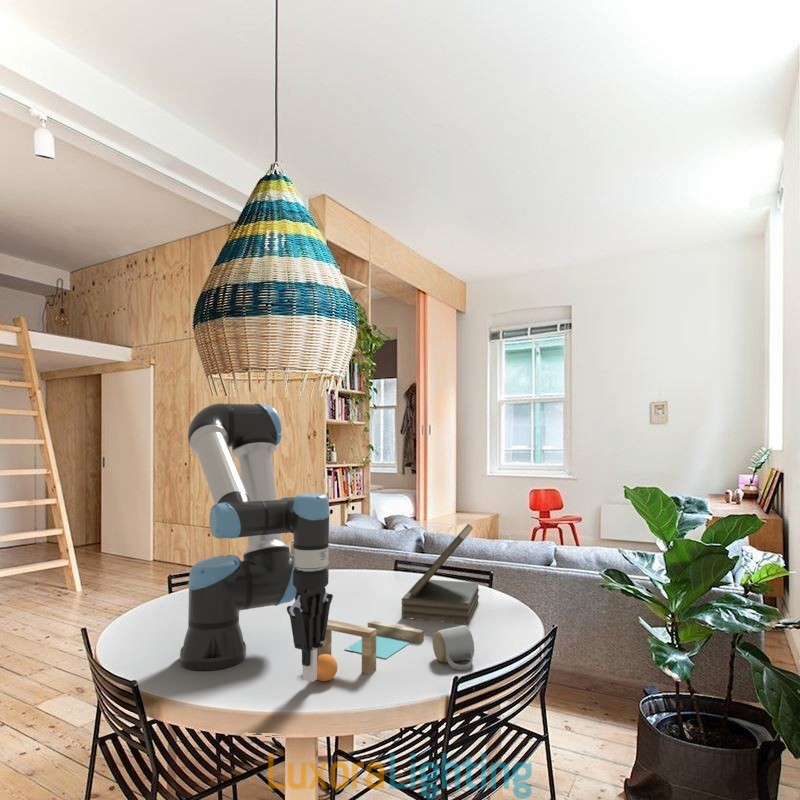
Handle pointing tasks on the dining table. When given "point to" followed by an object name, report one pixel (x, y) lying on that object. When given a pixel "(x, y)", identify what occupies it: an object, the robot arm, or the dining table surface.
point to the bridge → (364, 632)
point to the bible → (442, 593)
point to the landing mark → (381, 647)
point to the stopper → (397, 631)
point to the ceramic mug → (454, 646)
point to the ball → (326, 667)
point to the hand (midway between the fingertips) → (309, 679)
